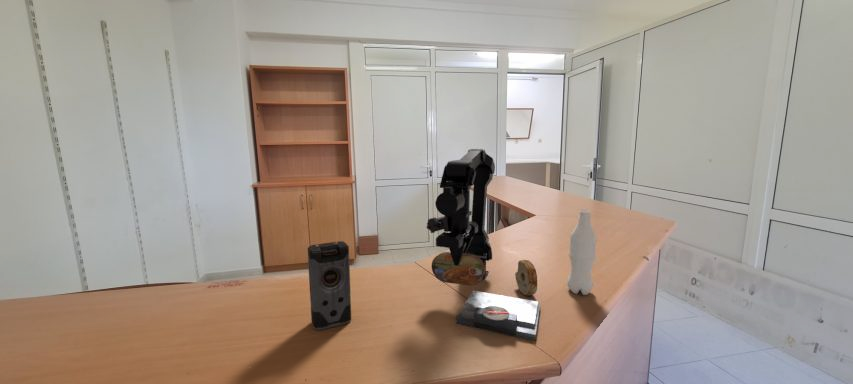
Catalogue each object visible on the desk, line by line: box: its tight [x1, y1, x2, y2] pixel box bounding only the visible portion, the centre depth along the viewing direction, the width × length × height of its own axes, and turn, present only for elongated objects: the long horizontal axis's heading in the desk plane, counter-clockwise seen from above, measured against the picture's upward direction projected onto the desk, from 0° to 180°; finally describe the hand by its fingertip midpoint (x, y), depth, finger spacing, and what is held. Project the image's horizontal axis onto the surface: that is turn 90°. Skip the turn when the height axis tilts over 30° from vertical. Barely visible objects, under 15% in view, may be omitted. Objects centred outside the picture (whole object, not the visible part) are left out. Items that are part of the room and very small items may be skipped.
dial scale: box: [455, 290, 541, 342], centre depth 85 cm, size 18×19×4 cm
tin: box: [431, 251, 485, 287], centre depth 91 cm, size 15×3×8 cm, turn 66°
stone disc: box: [514, 259, 538, 296], centre depth 99 cm, size 10×4×10 cm, turn 5°
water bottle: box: [566, 210, 597, 296], centre depth 99 cm, size 7×7×25 cm
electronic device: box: [307, 240, 352, 331], centre depth 82 cm, size 9×6×20 cm, turn 117°
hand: (458, 263), depth 91 cm, fingers closed on tin, 3 cm apart
